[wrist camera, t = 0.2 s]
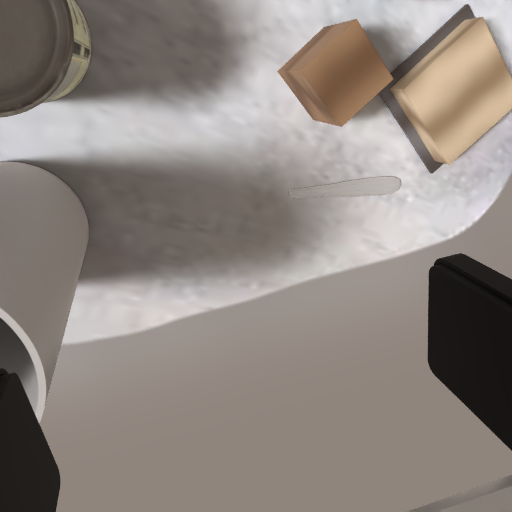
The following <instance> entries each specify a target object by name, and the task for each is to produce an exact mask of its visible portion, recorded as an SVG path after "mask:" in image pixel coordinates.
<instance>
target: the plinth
mask: <svg viewBox="0 0 512 512" xmlns="http://www.w3.org/2000/svg"><path fill="white" fill-rule="evenodd" d="M391 76H392V77H393V80H392V81H391V82H390V83H389V84H388V85H387V86H385V87H384V88H383V89H382V90H381V91H380V92H379V94H380V95H381V97H382V98H383V100H384V102H385V103H386V105H387V106H388V108H389V109H390V111H391V113H392V114H393V116H394V117H395V119H396V120H397V122H398V123H399V125H400V127H401V128H402V130H403V131H404V133H405V134H406V136H407V138H408V139H409V141H410V142H411V144H412V145H413V147H414V148H415V150H416V152H417V153H418V155H419V156H420V158H421V159H422V161H423V163H424V164H425V166H426V167H427V169H428V170H429V172H430V173H433V172H434V171H435V170H436V169H438V168H439V167H440V166H441V165H442V164H443V163H444V164H448V165H450V164H451V163H452V162H453V161H454V160H455V159H457V158H458V157H459V156H460V155H461V154H462V153H463V152H464V151H465V150H467V149H468V148H469V147H470V146H471V145H472V144H473V143H474V142H476V141H477V140H478V139H479V138H480V137H481V136H482V135H483V134H484V133H486V132H487V131H488V130H489V129H490V128H491V127H492V126H493V125H494V124H496V123H497V122H498V121H499V120H500V119H501V118H502V117H503V116H505V115H506V114H507V113H508V112H509V111H510V110H511V109H512V78H511V76H510V74H509V71H508V69H507V67H506V65H505V63H504V61H503V59H502V57H501V55H500V52H499V50H498V48H497V46H496V44H495V42H494V40H493V38H492V36H491V33H490V31H489V29H488V27H487V25H486V23H485V21H484V19H483V17H479V18H475V17H474V15H473V13H472V11H471V9H470V7H469V5H468V4H466V5H465V6H464V7H462V8H461V9H460V10H459V11H458V12H457V13H456V14H455V15H454V16H453V17H452V18H451V19H449V20H448V21H447V22H446V23H445V24H444V25H443V26H442V27H441V28H440V29H439V30H438V31H436V32H435V33H434V34H433V35H432V36H431V37H430V38H429V39H428V40H427V41H426V42H425V43H424V44H422V45H421V46H420V47H419V48H418V49H417V50H416V51H415V52H414V53H413V54H412V55H411V56H409V57H408V58H407V59H406V60H405V61H404V62H403V63H402V64H401V65H400V66H399V67H398V68H396V69H395V70H394V71H393V72H392V73H391Z"/></svg>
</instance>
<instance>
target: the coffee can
mask: <svg viewBox="0 0 512 512" xmlns="http://www.w3.org/2000/svg"><path fill="white" fill-rule="evenodd" d="M90 58H91V36H90V32H89V28H88V25H87V22H86V20H85V17H84V15H83V13H82V11H81V9H80V8H79V6H78V5H77V3H76V2H75V0H0V117H7V116H12V115H16V114H20V113H23V112H26V111H28V110H30V109H32V108H34V107H36V106H37V105H39V104H41V103H44V102H49V101H53V100H56V99H59V98H61V97H63V96H65V95H66V94H68V93H69V92H71V91H72V90H73V89H74V88H75V87H76V86H77V85H78V84H79V83H80V82H81V81H82V79H83V77H84V75H85V74H86V71H87V69H88V66H89V63H90Z"/></svg>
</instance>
